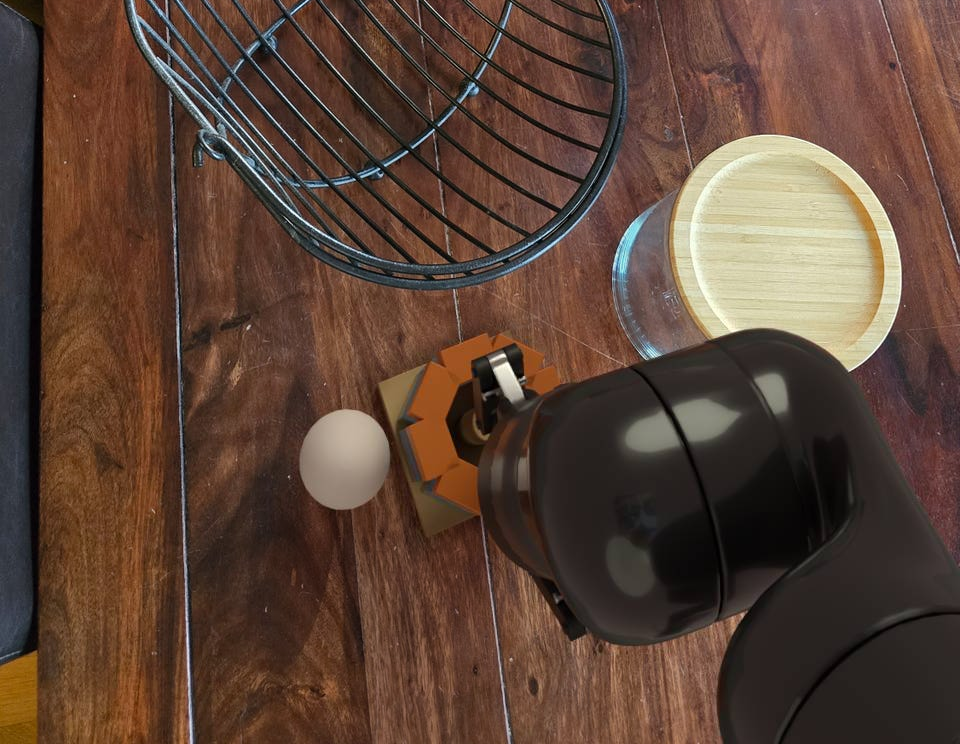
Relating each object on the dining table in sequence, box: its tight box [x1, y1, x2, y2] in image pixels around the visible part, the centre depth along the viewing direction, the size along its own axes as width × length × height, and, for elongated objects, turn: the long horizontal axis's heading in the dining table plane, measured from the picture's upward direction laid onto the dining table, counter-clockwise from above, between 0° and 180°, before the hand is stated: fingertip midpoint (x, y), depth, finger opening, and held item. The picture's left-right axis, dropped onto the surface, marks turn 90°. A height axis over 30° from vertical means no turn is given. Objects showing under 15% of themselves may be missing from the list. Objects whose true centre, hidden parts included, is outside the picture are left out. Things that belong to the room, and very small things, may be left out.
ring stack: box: [376, 329, 514, 538], centre depth 68 cm, size 9×9×9 cm
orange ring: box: [406, 332, 562, 517], centre depth 64 cm, size 9×9×2 cm
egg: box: [299, 408, 391, 511], centre depth 67 cm, size 5×5×7 cm
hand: (509, 486), depth 63 cm, fingers closed on orange ring, 2 cm apart
